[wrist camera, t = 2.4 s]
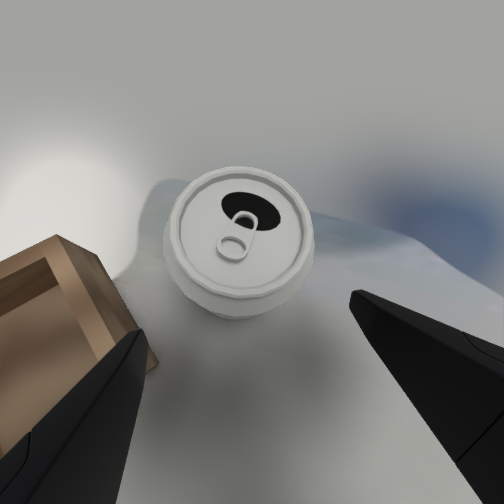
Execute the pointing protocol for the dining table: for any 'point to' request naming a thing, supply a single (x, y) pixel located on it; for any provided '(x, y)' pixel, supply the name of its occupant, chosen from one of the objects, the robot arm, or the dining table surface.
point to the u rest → (53, 329)
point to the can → (239, 242)
